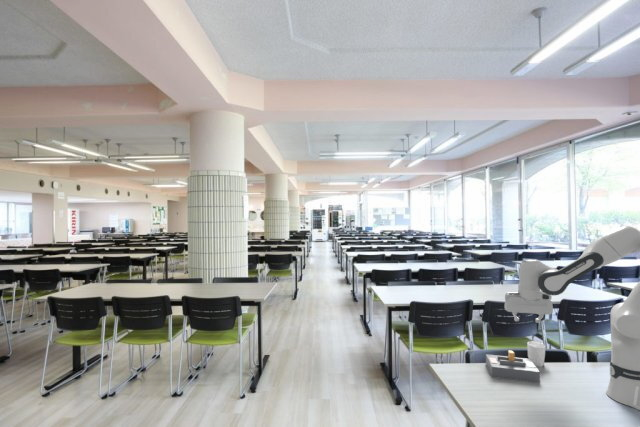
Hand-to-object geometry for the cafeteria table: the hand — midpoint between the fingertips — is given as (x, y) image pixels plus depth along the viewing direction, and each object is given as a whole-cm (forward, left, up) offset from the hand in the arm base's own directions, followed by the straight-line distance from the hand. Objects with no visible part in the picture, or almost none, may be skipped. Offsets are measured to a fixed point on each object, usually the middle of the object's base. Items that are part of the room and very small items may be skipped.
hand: (527, 321), depth 159 cm
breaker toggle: (+6, -2, -21) cm, 22 cm away
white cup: (-9, -16, -26) cm, 32 cm away
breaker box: (+6, -2, -26) cm, 27 cm away
